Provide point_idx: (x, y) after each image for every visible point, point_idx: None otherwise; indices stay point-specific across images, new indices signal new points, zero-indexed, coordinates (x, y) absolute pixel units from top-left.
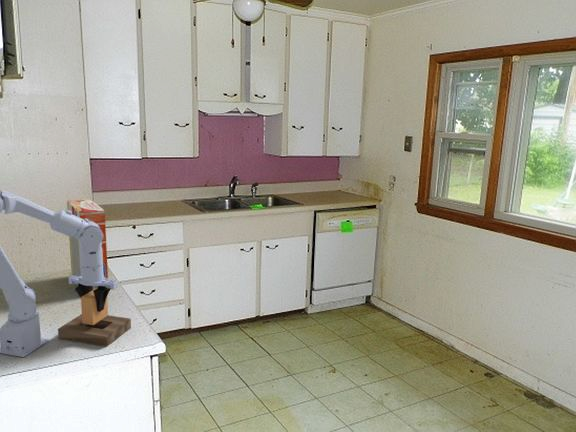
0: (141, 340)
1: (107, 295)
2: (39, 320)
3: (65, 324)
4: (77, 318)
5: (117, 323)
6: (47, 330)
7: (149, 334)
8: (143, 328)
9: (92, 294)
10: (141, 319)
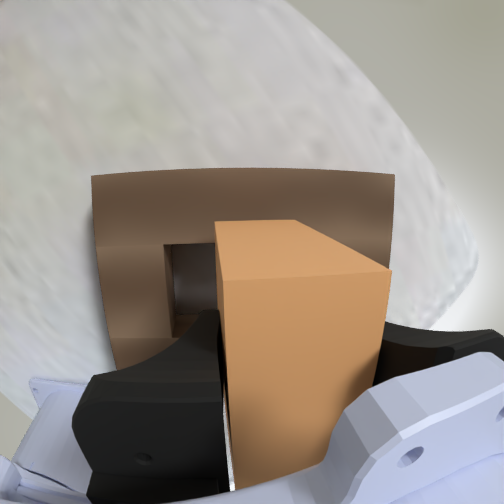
0: (441, 262)
1: (411, 329)
2: (84, 465)
3: (114, 346)
4: (113, 270)
5: (363, 249)
6: (39, 315)
7: (449, 210)
8: (414, 165)
9: (304, 437)
10: (364, 81)
